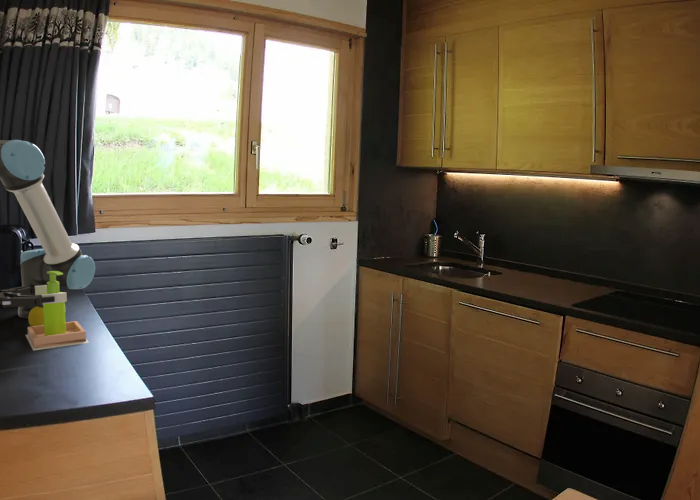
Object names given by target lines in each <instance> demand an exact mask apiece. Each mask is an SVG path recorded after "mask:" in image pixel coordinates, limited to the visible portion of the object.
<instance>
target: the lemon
mask: <svg viewBox="0 0 700 500" xmlns="http://www.w3.org/2000/svg"><path fill="white" fill-rule="evenodd" d="M28 324H29V326H30V327H31V326H39V325H44V312H43V308H42V307H41V308H39V307H35V308H33V309H32V310H31V311H30V313H29V317H28Z"/></svg>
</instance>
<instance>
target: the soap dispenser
mask: <svg viewBox="0 0 700 500" xmlns="http://www.w3.org/2000/svg"><path fill="white" fill-rule="evenodd" d="M47 274H49V275H50V281H49V282H47V293H44V294H54V293H64V291H63V292H62V291H60V288H61V287H59V282H58V281H56V276H59V275H63V273H61V272H59V271H48V272H47ZM65 303H66V302H61V303H51V304H43V312H44V332H45V336H48V335H56V334H63V333H66V322H67V321H66V313H65V306H66V304H65Z"/></svg>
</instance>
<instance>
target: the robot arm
mask: <svg viewBox="0 0 700 500" xmlns="http://www.w3.org/2000/svg"><path fill="white" fill-rule="evenodd" d="M45 159H46V158H45V156H44V154H43V152H42V151H41V149H40V148H39V147H38V146H37V145H36V144H34V143H33V142H30V141H26V140H21V139H11V140H5V139H2V140H1V139H0V181H1V182H2V185H3V187H4V189H5V190H6V191H8V192H10V193H11V192H12V193H13V194H14V196H15V197H16V199H17V202H18V203H19V205H20V207H21V210H22V211H23V213H24V215H25V216H26V218H27V220H28V222H29V225H30V227H31V228H32V230H33V232H34V234H35V236H36V238H37V239H38V242H39V243H40V246H41V247H42V248H38V249H31V250H26V251H23V252H22V253H21V254H20V262H19V264H20V277H21V286H17V287H12V288H5V289H0V305H1V306H2V308H4V309H5V308H16V307H17V316H18V317H19V318H21V319H28V317H29V313H30V311H31V310H32V309H33V308H35V307H39V308H41V307H42V308H43V304H51V303H61V302H65V303H66V302H68V298H67V296H68V295H67V292H64V291H63V293H54V294H44V293H47V282H49V281H50V275H49V274H47V272H48V271H59V272H61V273H63V275H59V276H56V281H58V282H59V288H62V289H69V290H82V289H84V288H87V287H88V286H89V285H90V284H91V282H92V281H93V278H94V277H95V272H96V264H95V261H94V259H93V258H92V257H91V256H88V255H87V254H83V252H82V250H81V249H80V246H79V245H78V244H77V243H73V242H72V241H71V239H70V237H69V235H68V232H67V231H66V229H65V226H64V224H63V223H62V221H61V219H60V217H59V215H58V212H57V211H56V208H55V207H54V204H53V203H52V200H51V197H50V196H49V194H48V192H47V190H46V188H45V186H44V184H43V180H44V178H45V174H44V172H45V169H46V166H45V165H46V160H45ZM66 312H67V306H66V305H65V314H66Z"/></svg>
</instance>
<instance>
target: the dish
mask: <svg viewBox="0 0 700 500" xmlns="http://www.w3.org/2000/svg"><path fill="white" fill-rule="evenodd" d="M27 335H28V337H29V339H30V341H31V343H32V345H33V347H34V348H41V347H48V346H55V345H62V344H70V343H77V342H84V341H86V339H87V331H86V330H85V329H84V328H83V327H82V325H81V324H80V322H78V321H77V320H74V321H66V333H63V334H56V335H48V336H45V332H44V325H39V326H31V325H30V326H27Z"/></svg>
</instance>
